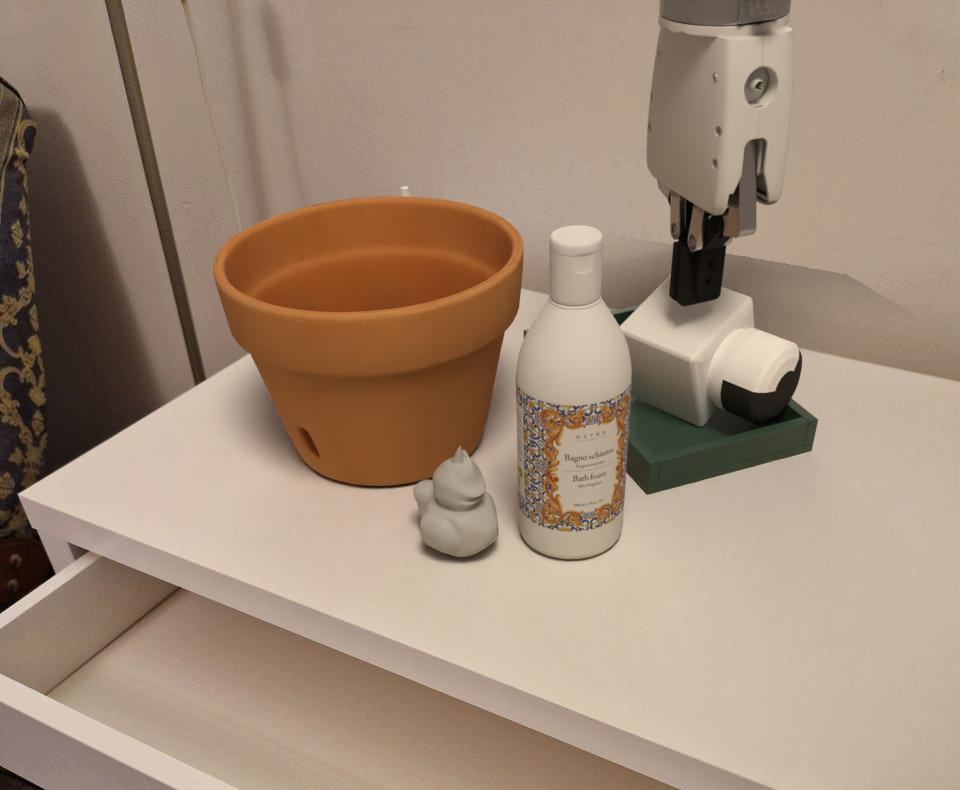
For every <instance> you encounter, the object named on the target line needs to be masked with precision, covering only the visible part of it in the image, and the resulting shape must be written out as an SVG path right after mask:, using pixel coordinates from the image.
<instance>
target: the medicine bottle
mask: <svg viewBox="0 0 960 790" xmlns="http://www.w3.org/2000/svg"><path fill="white" fill-rule="evenodd" d="M670 277H671V274H670V275H669V276H668V277H666V279H664V281H662V283H661V284H659V286H658V287H657V288H656V289H654V291H653V292H652V293H651V294H650V295H649V296H647V298H646V299H644V301H643V302H642V303H641V304H639V305H640V306H639V307H638V308H637V309H636V310H635V311H634V312H633V313H632V314H631V315H630V316H629V317H628V318H627V319H626V320H625V321H624V322H623V323H622V324H621V325H620V328H621V330H622V332H623V334H624V337H625V339H626V342H627V345H628V348H629V353H630V358H631V367H632V388H631V396H633V397H634V398H637V399H639V400H641V401H643V402H646V403H648V404H650V405H652V406H654V407H657V408H659V409H661V410H663V411H665V412H668V413H670V414H672V415H674V416H676V417H679V418H681V419H683V420H685V421H687V422H690V423H692V424H694V425H696V426H699V427H702V426H704V425H705V424H706V423H707V422H708V421H709V420H710V419H711V418H712V417H713V416H714V414H715V413H716V412H717V411H718V410H719V409H723V410H725V411H727V412H730V413H732V414H734V415H737V416H739V417H741V418H743V419H746V420H748V421H750V422H753V423H755V424H759V425H760V424H764V423H767V422H770V421H771V420H773V419H774V418H775V417H777V416H778V415H779V414H780V413H781V411H782V410H783V409H784V408H785V407H786V405H787V404H788V403H789V401H790V400H791V398H792V399H793V396H794V395H795V392H796V390H797V387H798V385H799V383H800V379H801V373H802V369H803V355H802V352H801V350H800V347H799V345H798V344H797V343H795V342H793V341H790V340H788V339H785V338H782V337H780V336H778V335H774V334H772V333H769V332H766V331H764V330H761V329H759V328H756V327H755V315H754V313H755V312H754V301H753V298H752V297H751V296H750V295H746V294H743V293H741V292H738V291H736V290H733V289H730V288H727V287H725V286H722V287H721V294H720V296H719V298H717V299H716V300H712V301H707V302H703V303H698V304H694V305H689V306H684V307H683V306H681V305H680V304H679V303H677V301H675V300H673V299H672V298H671V297H670V296H669V289H670Z"/></svg>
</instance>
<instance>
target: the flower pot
mask: <svg viewBox="0 0 960 790" xmlns="http://www.w3.org/2000/svg"><path fill="white" fill-rule="evenodd" d="M524 249H525V248H524V241H523V238H522V235H521V233H520V232H519V231H518V229H517V227H515V226H514V225H513V224H512V223H511V222H510V221H508V220H507V219H506V218H504V217H502V216H500V215H498V214H496V213H494V212H492V211H489V210H487V209H484V208H482V207H479V206H475V205H472V204H468V203H464V202H460V201H455V200H449V199H441V198H433V197H421V196H411V197H400V195H397V196H395V195H393V196H392V195H391V196H390V195H388V196H386V195H385V196H382V195H381V196H368V197H356V198H354V197H353V198H348V199H347V198H346V199H339V200H332V201H326V202H320V203H317V204H311V205H307V206H303V207H300V208H296V209H292V210H289V211H286V212H284V213H280V214H278V215H274V216H272V217H270V218H267V219H265V220H262V221H260V222H257V223H255V224H253V225H251V226H249V227H247V228H245V229H243V230H242V231H240V232H238V233H236V234H235V235H234V236H232V237H230V238H229V239H228V240H227V241H226V242H225V243H224V244H223V245H222V246H221V247H220V249H219V250H218V252H217V253H216V255H215V257H214V259H213V263H212V273H213V280H214V283H215V285H216V289H217V292H218V296H219V299H220V302H221V305H222V309H223V312H224V316H225V318H226V322H227V324H228V328H229V332H230V334H231V336H232V337H233V339H234V340H235V342H236V343H237V345H238V346H240V347H241V348H242V350H243V351H245V352H247V353H248V354H250V356H251V358H252V360H253V363H254V364H255V366H256V369H257V371H258V373H259V375H260V377H261V379H262V381H263V384H264V386H265V388H266V389H267V392H268V394H269V397H270V398H271V400H272V402H273V404H274V406H275V408H276V411H277V413H278V415H279V417H280V419H281V421H282V424H283V425H284V428H285V430H286V432H287V434H288V437H290V440H291V441H292V444H293V445H294V448H295V449H296V451H297V453H298V455H299V456H300V458H301V459H302V460H303V462H304V463H305V464H306V465H308V467H310V468H311V469H312V470H314V471H315V472H317V473H318V474H320V475H323V476H324V477H327V478H329V479H331V480H333V481H334V480H335V481H338V482H343V483H346V484H351V485H358V486H369V487H371V486H372V487H373V486H374V487H384V486H385V487H386V486H399V485H404V484H411V483H417V482H420V481H423V480H429V479H431V478H433V474H434V472H435V470H436V469H437V468H438V467H439V466H440V465H441V464H442V463H443V462H444V461H446V460H448V459H450V458H452V457H454V455H455V453H456V451H457V449H458V447H459V446H461V449H462V450H463V449H464V450H465V451H466V452H467V454H468V455H469V456H470V455H472V454H473V452H474V451H475V450H476V449H477V447H478V445H479V444H480V441H481V439H482V436H483V433H484V430H485V427H486V425H487V422H488V417H489V412H490V408H491V403H492V398H493V394H494V388H495V382H496V378H497V371H498V366H499V362H500V356H501V352H502V347H503V341H504V337H505V335H506V331H507V330H508V329H509V328H510V327H511V325H512V324H513V323H514V322H515V319H516V317H517V315H518V312H519V309H520V304H521V303H520V302H521V294H522V286H523V272H524V271H523V270H524V253H525V252H524Z"/></svg>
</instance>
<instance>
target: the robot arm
mask: <svg viewBox="0 0 960 790" xmlns="http://www.w3.org/2000/svg"><path fill="white" fill-rule="evenodd" d="M658 4H659V5H658V19H657V23H658V27H659V32H658V38H657V43H656V48H655V56H654V63H653V70H652V78H651V87H650V95H649V104H648V114H647V115H648V116H647V127H646V128H647V130H646V166H647V169H648V171H649V174H650V175H651V176H652V177H653V178H654V179H655V180H656V183H657V187H658V189H659V191H660V192H661V193H662V194H663V196H664V197H665V198H666V199H667V202H668V204H669V207H670V209H669V211H670V212H669V215H670V217H669V231H670V236H671V238H672V240H674V241H673V242H672V253H671V254H672V255H671V267H670V268H671V269H670V275H671V277H670V289H669V296H670V297H671V298H672V299H673V300H675V301H677V303H679V304H680V305H681V306H683V307H684V306H689V305H694V304H698V303H703V302H707V301H712V300H716V299H717V298H719V296H720V294H721V287H723V278H724V277H723V276H724V270H725V261H726V253H727V252H726V251H727V246H730V245H731V244H732V242H733V239H737V238H743V237H747V236H748V237H749V236H752V235H755V233H756V231H757V203H759V204H761V205H764V206H771V205H775V204H777V203H778V202H779V200H780V198H781V196H782V192H783V188H784V182H785V176H786V167H787V160H788V151H789V141H790V131H791V120H792V107H793V103H792V102H793V89H794V83H793V82H794V43H793V41H794V40H793V28H791V27H789V26H788V24H789V20H790V10H791V6H792V5H791V4H792V0H659V3H658Z"/></svg>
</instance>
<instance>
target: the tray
mask: <svg viewBox="0 0 960 790" xmlns="http://www.w3.org/2000/svg"><path fill="white" fill-rule="evenodd" d="M640 305H641V304H637V305H632V306H628V307H622V308H617V309H614V310H610V312H611V313H612V315H613V316H614V318H615V319H616V321H617V323H618V324H619V326H620V325H621V324H622V323H623V322H624V321H625V320H626V319H627V318H628V317H629V316H630V315H631V314H632V313H633V312H634V311H635V310H636V309H637V308H638V307H639V306H640ZM528 330H529V328H527V329H523V339H524V338H525V336H526V333H527V332H528ZM818 423H819V419H818V418H817V417H816V416H814V414H812V413H810V411H808V410H807V409H806V408H804V407H803V406H802V405H801V404H799V403H798V402H797V401H796V400H795V399H793V397H792V398H791V400H790V401H789V403H788V404H787V405H786V407H785V408H784V409H783V410H782V411H781V413H780V414H779V415H778V416H777V417H775V418H774V419H773V420H771V421H770V422H767V423H764V424H760V425H759V424H755V423H753V422H750V421H748V420H746V419H743V418H741V417H739V416H737V415H734V414H732V413H730V412H727V411H725V410H723V409H719V410H718V411H717V412H716V413H715V414H714V416H713V417H712V418H711V419H710V420H709V421H708V422H707V423H706V424H705V425H704V426H702V427H699V426H696V425H694V424H692V423H690V422H687V421H685V420H683V419H681V418H679V417H676V416H674V415H672V414H670V413H668V412H665V411H663V410H661V409H659V408H657V407H654V406H652V405H650V404H648V403H646V402H643V401H641V400H639V399H637V398H634V397H633V396H631V404H630V420H629V435H628V451H627V467H626V473H627V474H628V475H629V476H630V477H631V478H632V479H633V480H634V481H635V482H636V484H637V485H638V486H639V487H640V488H641V490H643V492H644V493H646V495H649V494H653V493H657V492H662V491H665V490H669V489H672V488H677V487H680V486H683V485H684V486H685V485H687V484H690V483H694V482H698V481H702V480H703V481H704V480H706V479H710V478H714V477H717V476H721V475H725V474H729V473H732V472H737V471H741V470H743V469H747V468H751V467H754V466H758V465H762V464H766V463H769V462H773V461H776V460H777V461H778V460H781V459H784V458H788V457H792V456H795V455H799V454H803V453H806V452H810V451H812V450H813V447H814V442H815V438H816V433H817V428H818Z"/></svg>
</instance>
